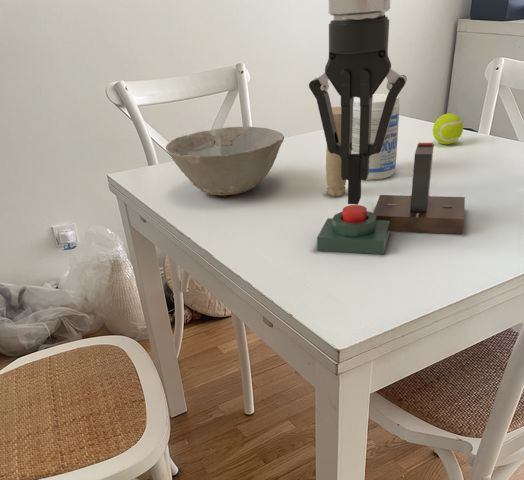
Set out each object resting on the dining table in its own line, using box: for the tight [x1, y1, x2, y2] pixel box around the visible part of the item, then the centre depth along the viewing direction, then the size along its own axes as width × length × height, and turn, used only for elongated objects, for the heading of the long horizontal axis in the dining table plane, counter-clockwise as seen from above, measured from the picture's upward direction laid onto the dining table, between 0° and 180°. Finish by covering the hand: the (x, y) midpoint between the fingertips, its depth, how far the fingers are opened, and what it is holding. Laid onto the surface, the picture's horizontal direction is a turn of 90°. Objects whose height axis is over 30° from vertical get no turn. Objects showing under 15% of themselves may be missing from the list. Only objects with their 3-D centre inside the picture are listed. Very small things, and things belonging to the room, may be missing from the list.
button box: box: [316, 210, 391, 255], centre depth 83 cm, size 10×8×4 cm
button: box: [342, 204, 368, 223], centre depth 82 cm, size 4×4×2 cm
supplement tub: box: [351, 93, 401, 181], centre depth 108 cm, size 10×10×15 cm
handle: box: [325, 106, 347, 197], centre depth 99 cm, size 5×6×15 cm
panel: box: [372, 194, 466, 235], centre depth 89 cm, size 14×10×3 cm
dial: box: [410, 142, 435, 212], centre depth 85 cm, size 6×2×9 cm, turn 163°
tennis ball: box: [432, 112, 464, 145], centre depth 125 cm, size 7×7×7 cm
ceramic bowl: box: [165, 126, 285, 196], centre depth 107 cm, size 22×23×10 cm
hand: (354, 200), depth 81 cm, fingers closed
